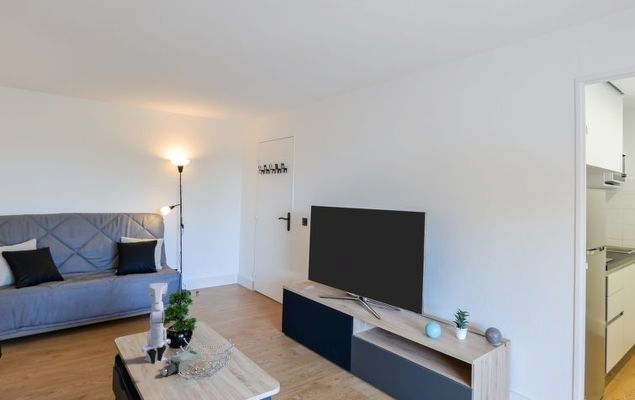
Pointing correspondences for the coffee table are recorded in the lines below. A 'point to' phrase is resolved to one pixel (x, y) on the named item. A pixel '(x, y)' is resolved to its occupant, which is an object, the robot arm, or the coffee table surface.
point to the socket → (180, 363)
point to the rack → (188, 355)
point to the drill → (170, 369)
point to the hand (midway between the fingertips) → (156, 361)
